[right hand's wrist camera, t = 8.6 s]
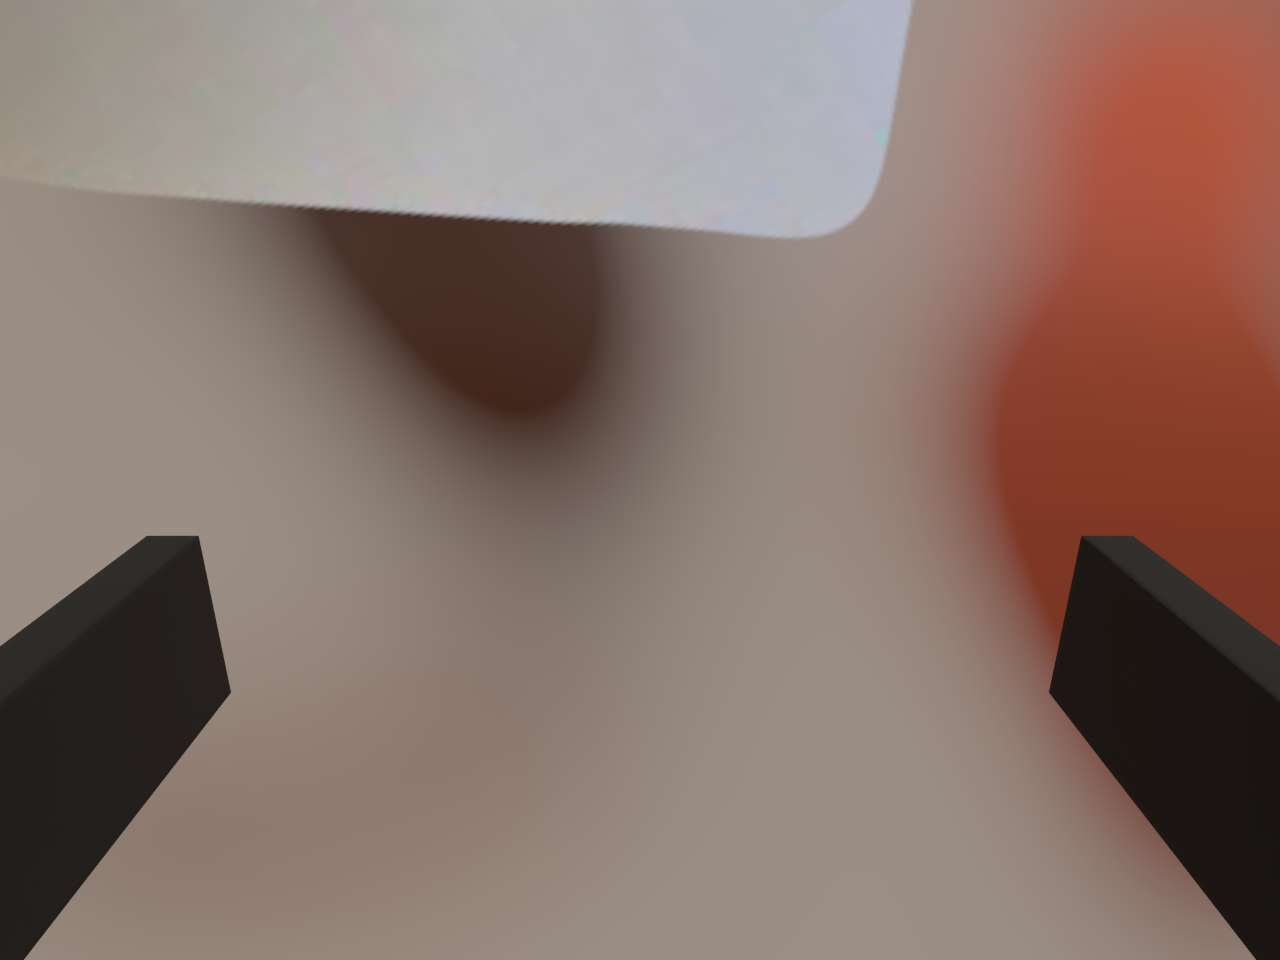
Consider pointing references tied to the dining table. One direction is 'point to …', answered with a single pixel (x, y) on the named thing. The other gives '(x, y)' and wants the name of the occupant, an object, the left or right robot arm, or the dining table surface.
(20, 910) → the right robot arm
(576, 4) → the dining table surface
